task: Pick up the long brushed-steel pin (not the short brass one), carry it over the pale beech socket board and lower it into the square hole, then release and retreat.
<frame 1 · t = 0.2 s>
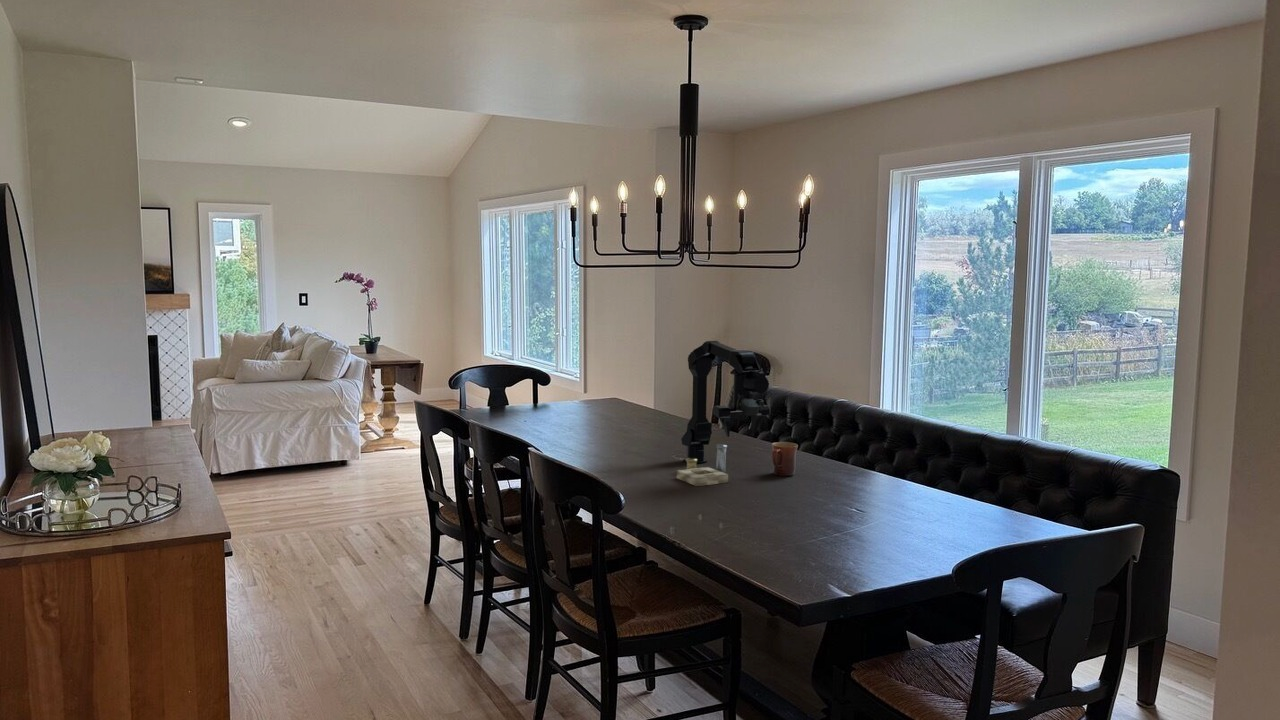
hand: (740, 436, 288), 14 cm above the table, fingers open, 9 cm apart
mug: (781, 476, 294), on the table
socket board: (702, 480, 285), on the table
short pin: (691, 472, 296), on the table
long pin: (720, 471, 298), on the table
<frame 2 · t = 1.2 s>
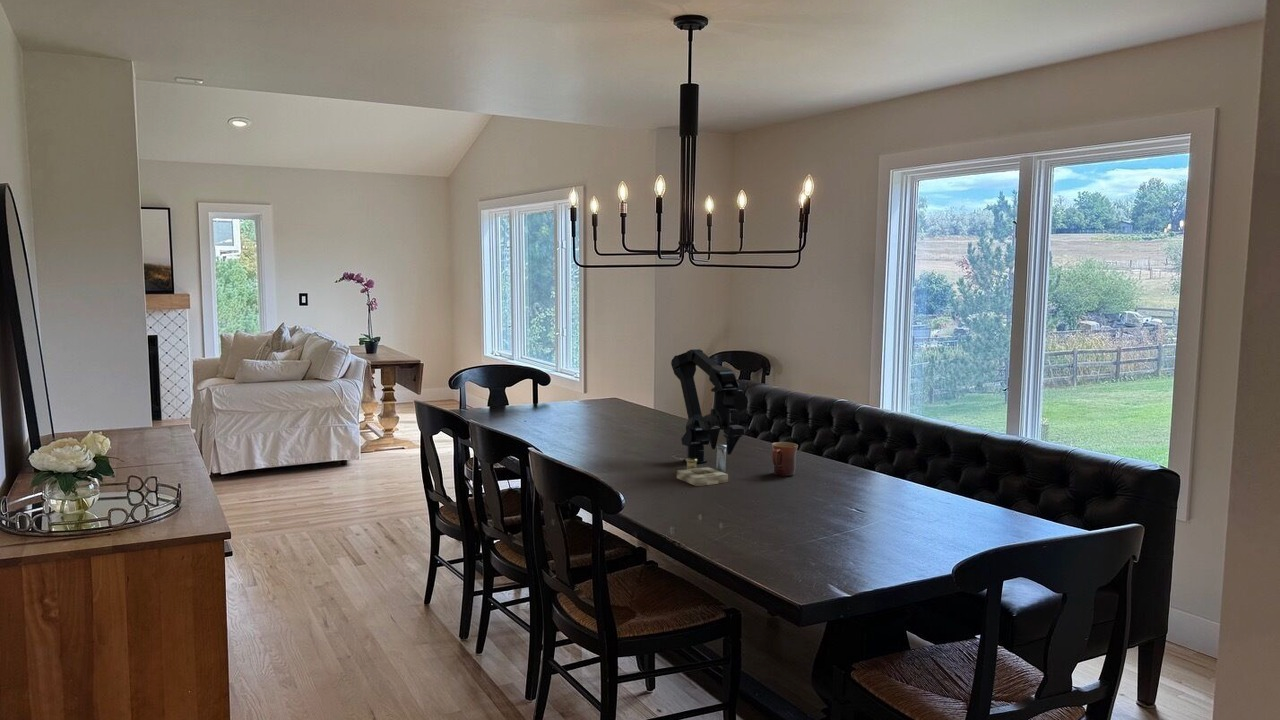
hand: (721, 451, 298), 7 cm above the table, fingers open, 9 cm apart
nothing on the table moved.
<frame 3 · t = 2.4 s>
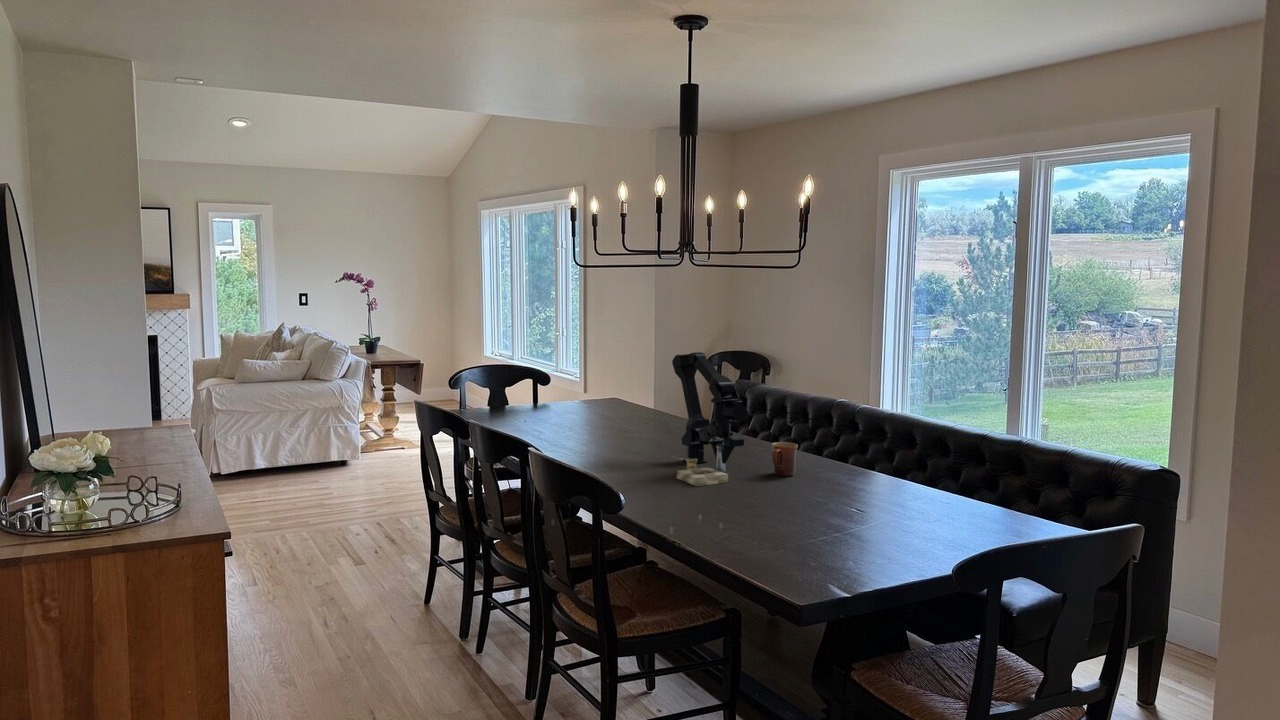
hand: (721, 462, 298), 3 cm above the table, fingers closed on long pin, 3 cm apart
long pin: (720, 471, 298), on the table, touching gripper
everything else where it was.
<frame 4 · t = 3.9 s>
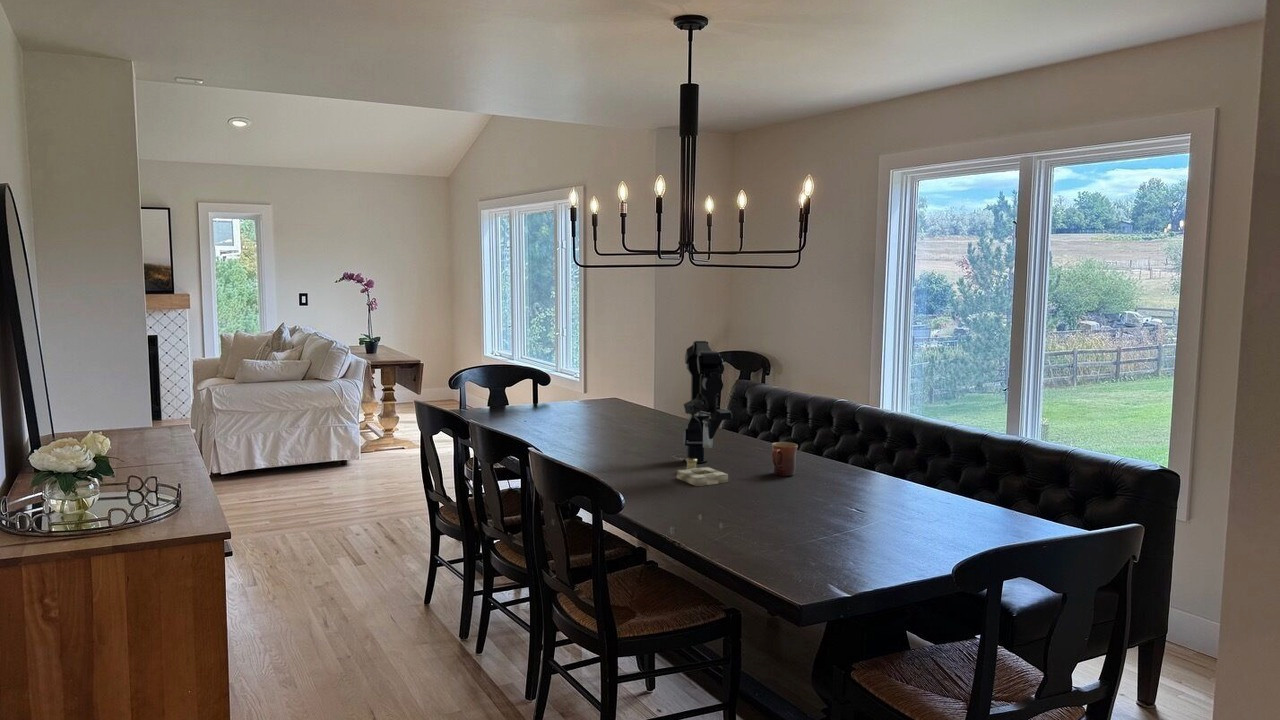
hand: (707, 438, 286), 14 cm above the table, fingers closed on long pin, 3 cm apart
long pin: (707, 447, 286), point 11 cm above the table, touching gripper
everything else where it was.
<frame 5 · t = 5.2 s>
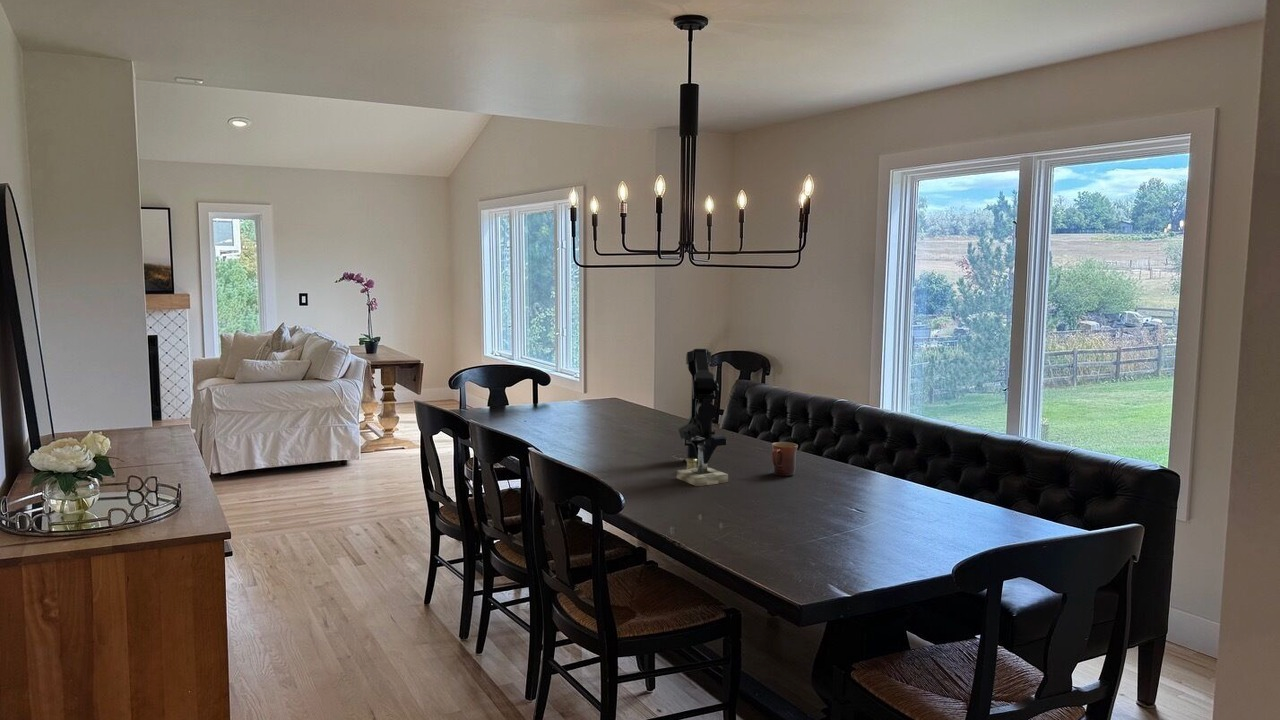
hand: (702, 462, 284), 6 cm above the table, fingers closed on long pin, 3 cm apart
long pin: (702, 471, 285), point 3 cm above the table, touching gripper
everything else where it was.
when the fingers open (3 cm above the table, at t = 5.9 s): long pin stays where it is, resting in socket board.
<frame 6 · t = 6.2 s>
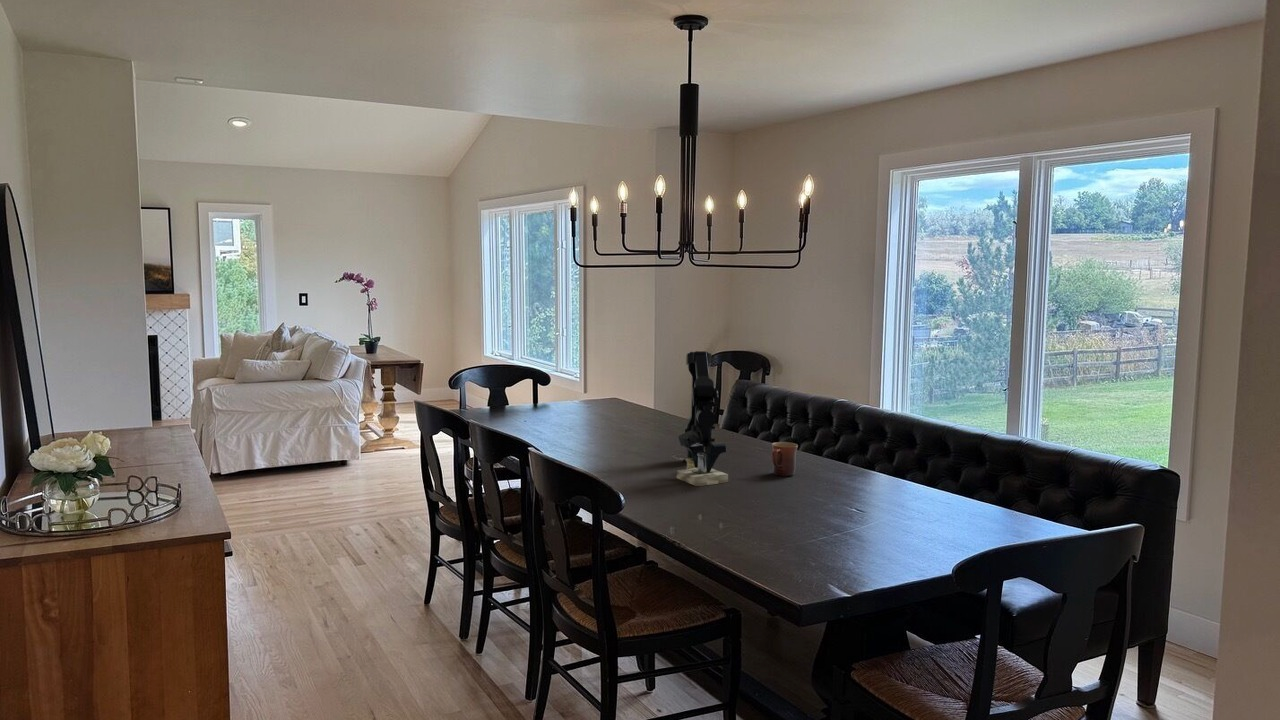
hand: (702, 469, 285), 3 cm above the table, fingers open, 7 cm apart
long pin: (702, 480, 285), resting in socket board
everything else where it was.
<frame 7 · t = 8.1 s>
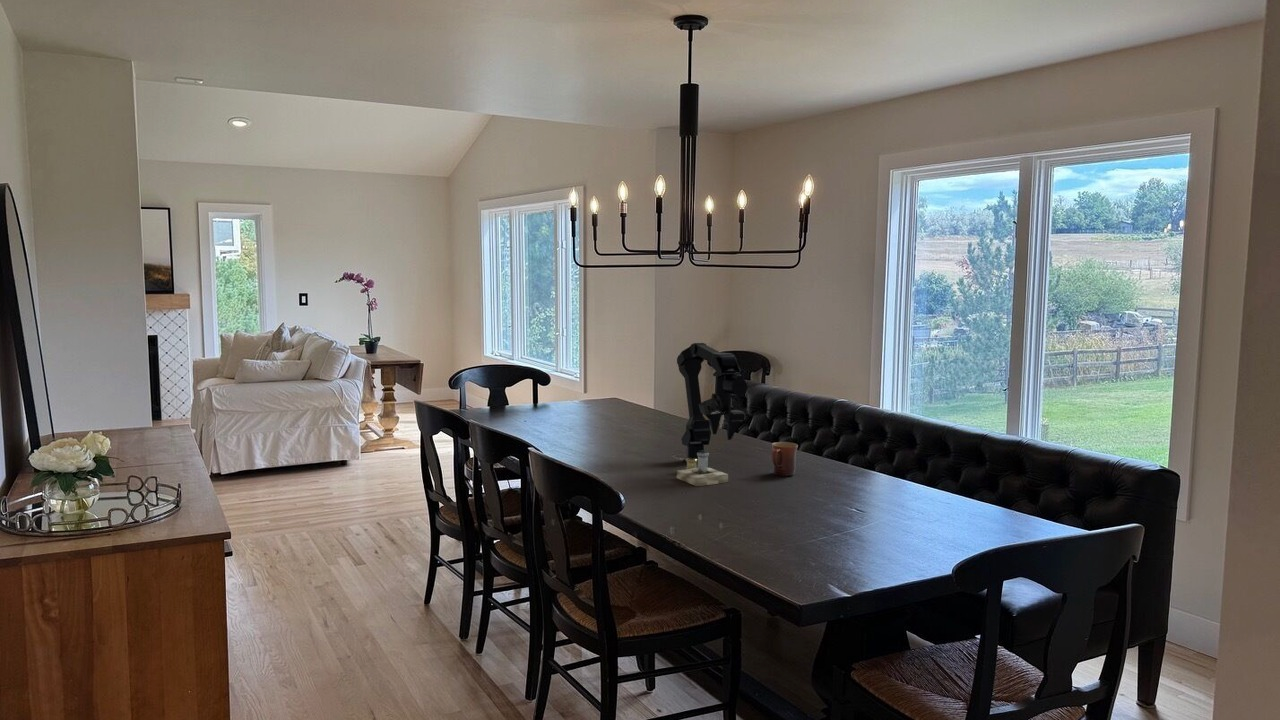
hand: (721, 437, 294), 12 cm above the table, fingers open, 9 cm apart
nothing on the table moved.
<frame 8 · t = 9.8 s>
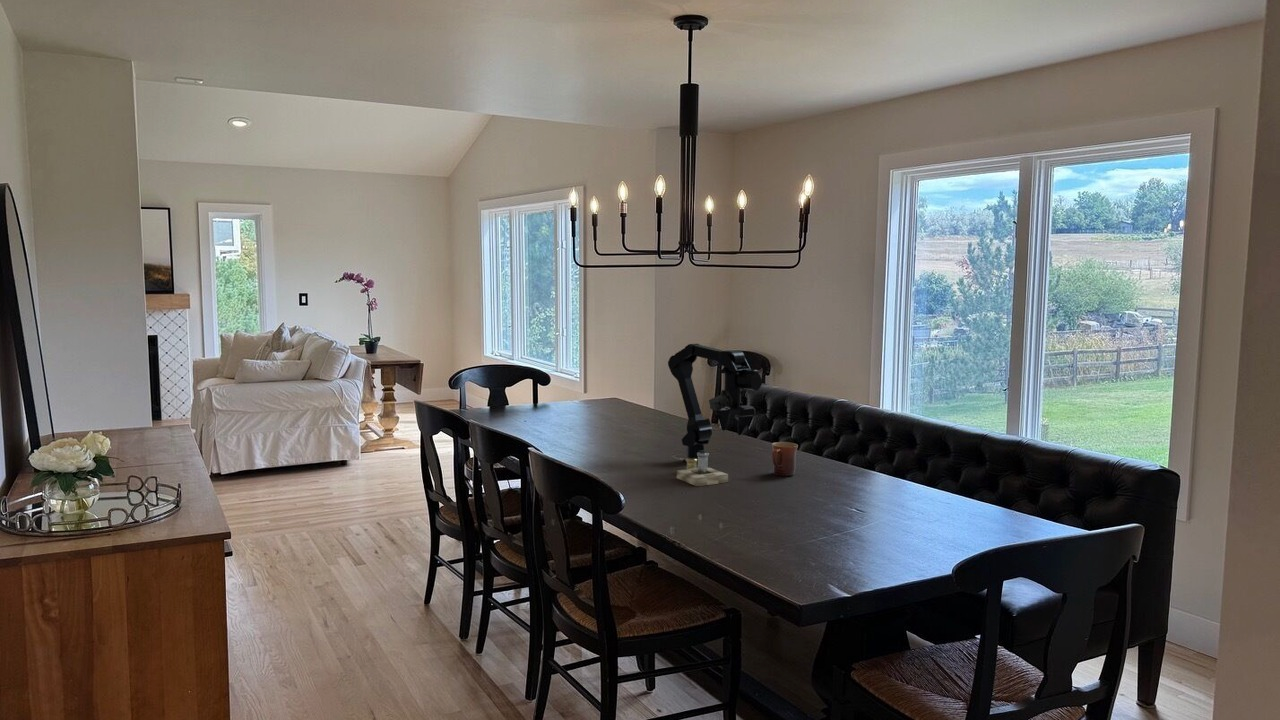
hand: (731, 432, 299), 13 cm above the table, fingers open, 9 cm apart
nothing on the table moved.
at the end: long pin 0.1 cm off-centre on the socket board, point 0.0 cm above the socket board's base; long pin tilted 0°; short pin moved 0.0 cm from its start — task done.
